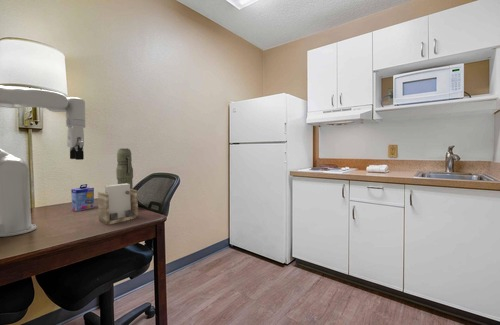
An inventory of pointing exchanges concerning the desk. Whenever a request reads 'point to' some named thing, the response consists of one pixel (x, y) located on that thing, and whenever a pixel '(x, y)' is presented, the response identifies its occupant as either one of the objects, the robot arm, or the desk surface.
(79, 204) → the ink cartridge box
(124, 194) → the white rectangular block
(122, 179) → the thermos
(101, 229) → the desk surface
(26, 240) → the desk surface
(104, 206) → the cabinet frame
